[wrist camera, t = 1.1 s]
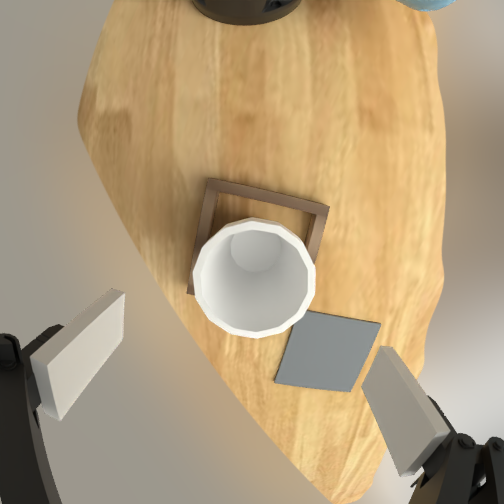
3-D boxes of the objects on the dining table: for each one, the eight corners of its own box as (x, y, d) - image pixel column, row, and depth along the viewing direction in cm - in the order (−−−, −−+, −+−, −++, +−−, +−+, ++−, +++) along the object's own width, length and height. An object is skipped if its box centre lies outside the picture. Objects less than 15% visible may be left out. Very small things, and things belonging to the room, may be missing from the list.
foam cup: (228, 292, 36) (213, 347, 24) (206, 219, 34) (176, 241, 22) (303, 272, 36) (326, 320, 23) (285, 197, 34) (301, 207, 21)
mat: (298, 308, 37) (298, 309, 36) (380, 323, 37) (381, 324, 37) (274, 381, 39) (274, 383, 39) (349, 390, 40) (350, 392, 39)
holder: (212, 178, 33) (208, 177, 31) (324, 204, 34) (329, 206, 31) (191, 286, 36) (186, 293, 34) (295, 309, 37) (298, 318, 34)
